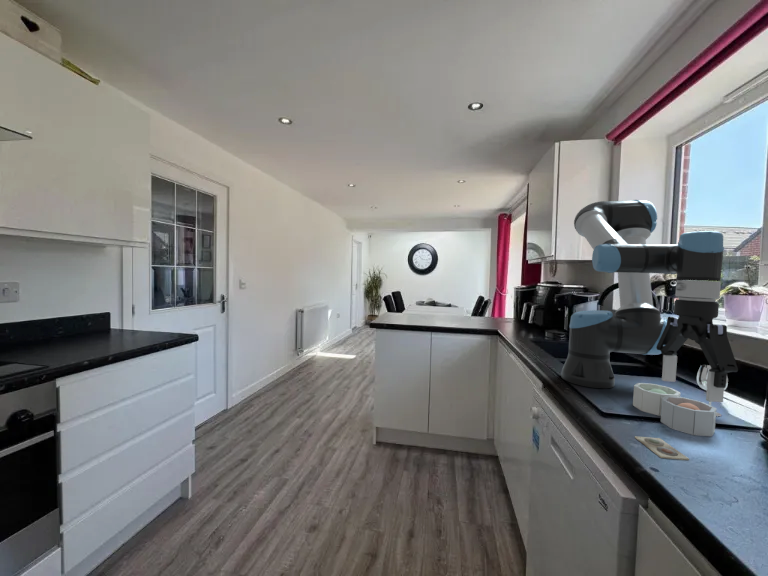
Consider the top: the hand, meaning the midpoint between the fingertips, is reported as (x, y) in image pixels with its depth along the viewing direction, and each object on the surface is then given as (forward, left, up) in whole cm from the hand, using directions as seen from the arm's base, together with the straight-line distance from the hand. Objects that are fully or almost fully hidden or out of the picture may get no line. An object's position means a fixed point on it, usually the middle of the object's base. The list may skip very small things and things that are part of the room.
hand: (689, 390), depth 79 cm
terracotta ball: (0, 0, -8) cm, 8 cm away
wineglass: (-10, +12, -9) cm, 18 cm away
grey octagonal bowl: (0, 0, -9) cm, 9 cm away
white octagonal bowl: (-10, 0, -9) cm, 13 cm away
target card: (+12, -14, -9) cm, 20 cm away
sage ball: (-10, -1, -8) cm, 13 cm away
